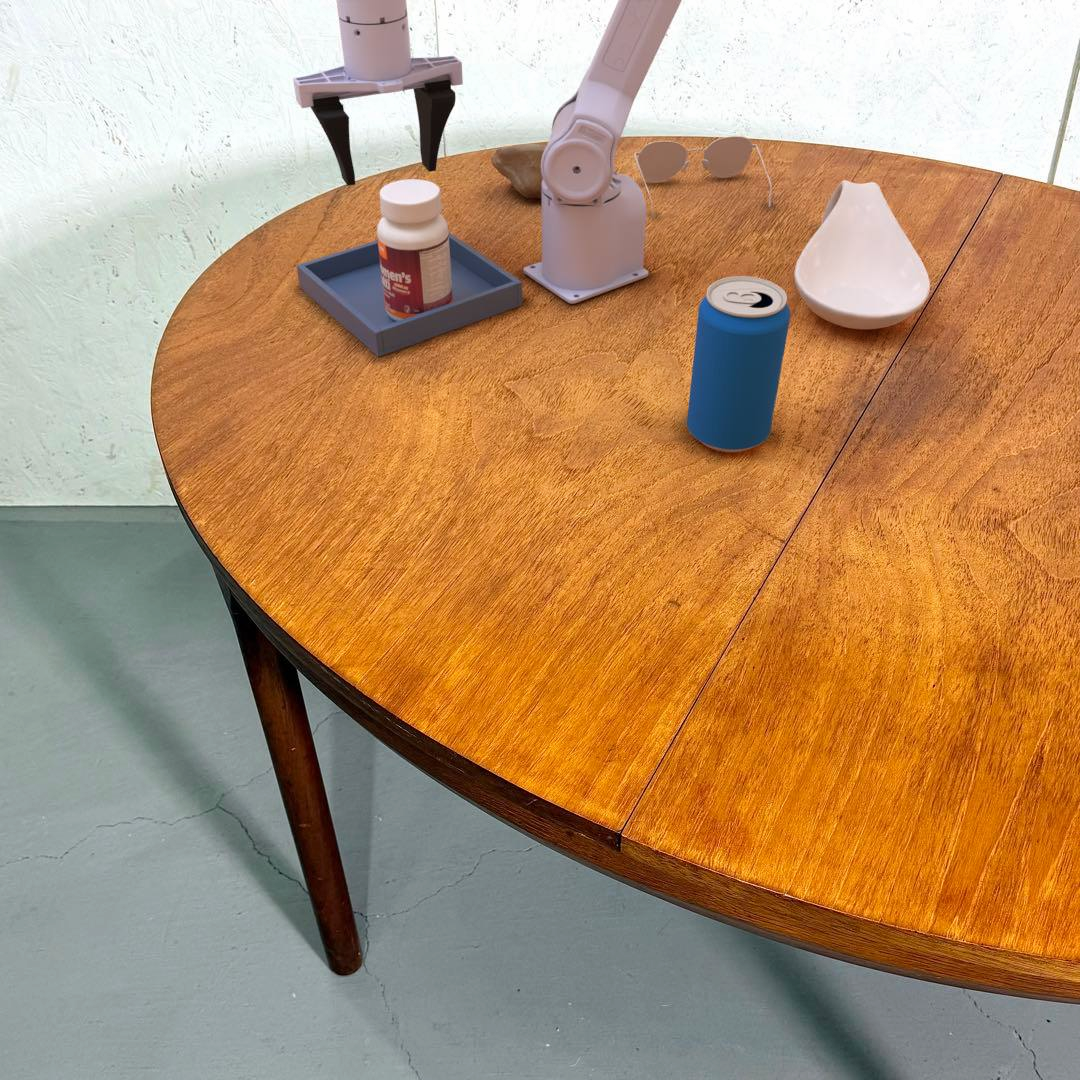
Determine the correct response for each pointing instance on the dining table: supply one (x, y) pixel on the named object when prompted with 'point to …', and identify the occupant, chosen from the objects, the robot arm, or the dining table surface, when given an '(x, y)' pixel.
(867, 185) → the spoon rest
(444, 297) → the pill bottle
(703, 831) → the dining table surface
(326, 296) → the slate tray
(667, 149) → the sunglasses
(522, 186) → the fossil
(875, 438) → the dining table surface
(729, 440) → the beverage can
